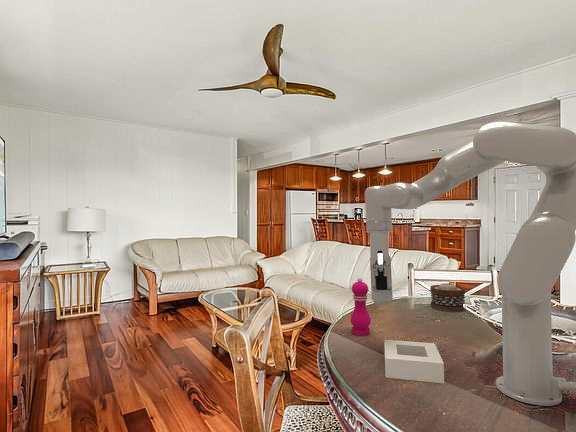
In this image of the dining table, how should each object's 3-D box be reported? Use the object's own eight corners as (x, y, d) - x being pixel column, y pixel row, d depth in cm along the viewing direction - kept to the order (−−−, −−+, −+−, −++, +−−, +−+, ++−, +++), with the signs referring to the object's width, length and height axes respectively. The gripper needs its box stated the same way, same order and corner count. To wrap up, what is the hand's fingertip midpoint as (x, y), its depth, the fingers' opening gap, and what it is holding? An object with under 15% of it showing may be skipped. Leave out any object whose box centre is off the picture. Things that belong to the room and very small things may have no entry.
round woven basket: (473, 286, 148) (443, 288, 146) (474, 311, 148) (443, 313, 146) (451, 280, 163) (423, 282, 160) (452, 303, 163) (423, 305, 160)
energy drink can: (394, 304, 97) (391, 252, 98) (372, 304, 98) (370, 253, 99) (391, 300, 103) (389, 251, 104) (371, 300, 104) (369, 251, 105)
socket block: (435, 360, 97) (434, 343, 97) (444, 383, 84) (443, 363, 84) (384, 356, 101) (384, 339, 101) (385, 377, 87) (385, 358, 87)
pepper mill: (371, 336, 118) (370, 279, 118) (350, 335, 119) (349, 279, 120) (370, 330, 125) (369, 276, 125) (350, 329, 127) (349, 275, 127)
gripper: (367, 227, 111) (369, 282, 110) (364, 228, 94) (367, 293, 93) (391, 226, 109) (393, 282, 108) (393, 227, 92) (396, 293, 91)
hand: (381, 287), depth 101 cm, fingers closed on energy drink can, 6 cm apart
